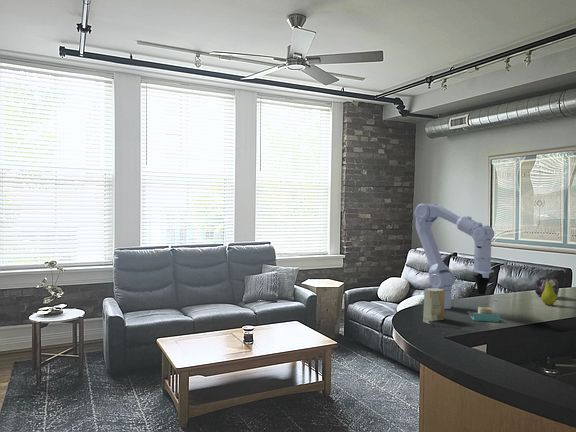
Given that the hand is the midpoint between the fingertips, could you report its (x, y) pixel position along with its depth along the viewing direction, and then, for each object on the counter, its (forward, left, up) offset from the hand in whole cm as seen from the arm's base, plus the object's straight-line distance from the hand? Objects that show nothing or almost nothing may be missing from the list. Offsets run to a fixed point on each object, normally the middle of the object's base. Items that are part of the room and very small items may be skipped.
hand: (481, 294), depth 174 cm
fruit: (+34, +34, -10) cm, 49 cm away
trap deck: (0, -2, -9) cm, 10 cm away
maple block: (0, -7, -8) cm, 10 cm away
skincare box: (-18, -11, -10) cm, 23 cm away
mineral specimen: (+39, +53, -10) cm, 67 cm away
